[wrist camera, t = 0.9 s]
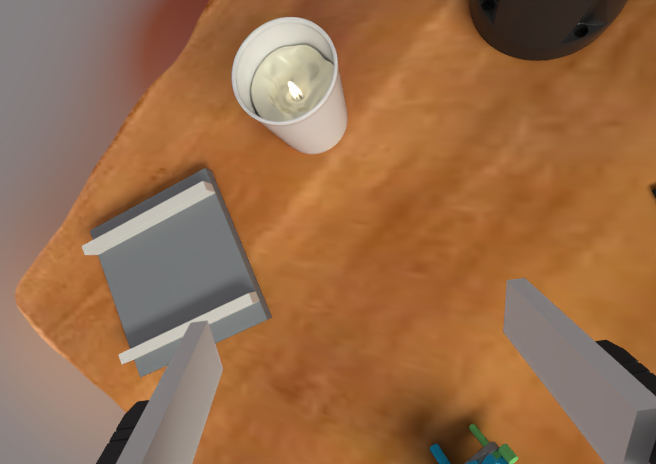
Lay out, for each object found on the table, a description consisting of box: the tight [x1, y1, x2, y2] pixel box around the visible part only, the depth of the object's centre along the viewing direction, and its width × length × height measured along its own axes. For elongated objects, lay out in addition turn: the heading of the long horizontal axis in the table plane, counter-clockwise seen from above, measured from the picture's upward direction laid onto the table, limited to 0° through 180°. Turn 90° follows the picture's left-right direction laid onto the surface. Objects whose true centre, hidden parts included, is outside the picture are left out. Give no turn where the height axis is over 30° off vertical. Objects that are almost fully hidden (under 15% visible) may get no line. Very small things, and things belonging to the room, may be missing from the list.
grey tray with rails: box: [82, 168, 272, 377], centre depth 43 cm, size 20×18×4 cm
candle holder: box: [232, 17, 348, 154], centre depth 37 cm, size 10×10×12 cm
